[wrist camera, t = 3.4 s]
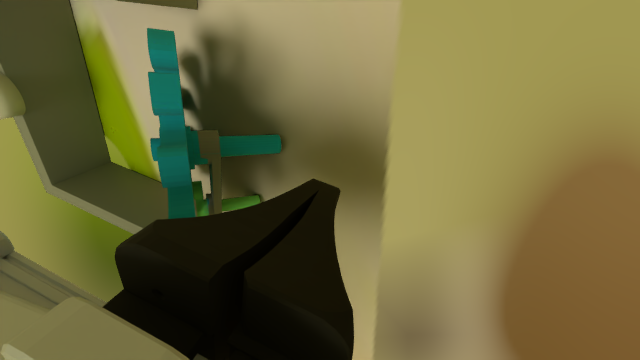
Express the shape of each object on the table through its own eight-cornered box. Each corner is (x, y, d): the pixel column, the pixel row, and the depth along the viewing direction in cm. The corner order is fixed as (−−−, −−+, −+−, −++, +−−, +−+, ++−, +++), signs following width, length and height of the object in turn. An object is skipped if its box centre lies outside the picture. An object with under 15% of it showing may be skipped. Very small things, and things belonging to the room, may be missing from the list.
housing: (206, 212, 20) (145, 261, 16) (97, 165, 22) (17, 197, 18) (196, -16, 12) (73, -43, 8) (33, -54, 14) (-134, -91, 10)
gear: (134, -8, 12) (105, 107, 6) (265, 14, 14) (343, 110, 8) (169, 173, 19) (173, 312, 13) (252, 167, 22) (289, 280, 15)
